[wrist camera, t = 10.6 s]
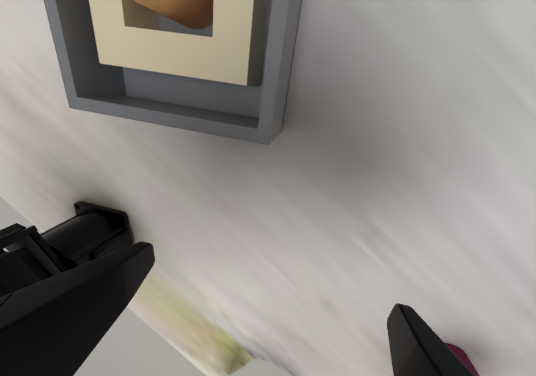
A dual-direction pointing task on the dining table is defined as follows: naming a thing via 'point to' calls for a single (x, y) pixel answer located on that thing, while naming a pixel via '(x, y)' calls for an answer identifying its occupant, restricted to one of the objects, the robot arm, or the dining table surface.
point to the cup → (463, 358)
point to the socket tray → (173, 89)
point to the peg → (183, 11)
